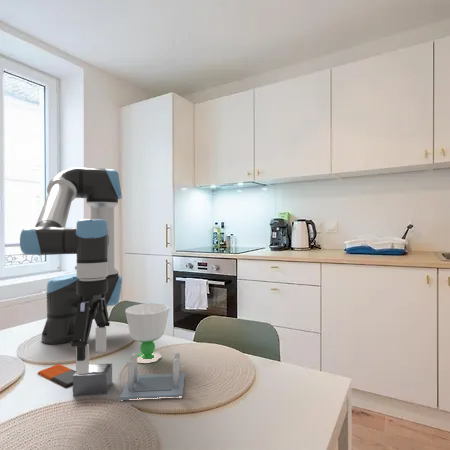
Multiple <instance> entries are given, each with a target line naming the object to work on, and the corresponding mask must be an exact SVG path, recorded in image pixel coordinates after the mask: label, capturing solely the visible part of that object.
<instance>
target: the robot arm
mask: <svg viewBox="0 0 450 450" xmlns="http://www.w3.org/2000/svg"><path fill="white" fill-rule="evenodd" d="M120 181H121V180H120V174H119V171H118V170H116V169H111V168H96V167H95V168H92V167H70V168H68V169H65V170H61V172H59V173H57V174H56V175H54V176H53V177H52V178H51V180H50V181H49V183H48V185H47V188H46V192H47V195H46V199H45V201H44V203H43V206H42V209H41V211H40V214H39V215H38V218H37V221H36V224H35V226H34V227H33V226H31V227H25V228H23V229H22V230H21V231H20V234H19V247H20V251H21V252H22V254H24V255H25V256H26V255H27V256H49V255H50V256H51V255H76V265H75V267H74V270H76V273H73V274H67V275H66V274H65V275H62V276H61V275H60V276H56V277H54V278H51V279H49V280H48V281H47V283H46V291H45V294H46V319H45V320H46V321H45V323H44V325H43V326H44V327H43V329H42V332H41V342H42V343H43V342H44V344H46V343H49V345H58V344H57V343H62V344H66V343H65V342H68V343H71V345H70V346H71V347H72V348H73V347H75V371H76V374H85V373H89V365H90V344H88V341H89V338H90V333H91V329H92V325H93V320H94V321H95V324H96V327H95V352H106V351H107V327H110V324H111V323H110V319H109V314H108V313H109V312H108V307H110V306H111V307H112V306H116V305H118V304H119V303H120V298H121V292H122V284H123V276H122V275H120V274H119V270H118V269H117V268H116V267H115V207H117V205H118V204H119V200H122V198H123V196H122V186H121V182H120ZM75 199H86V201H85V202H86V204H87V205H88V206H89V207H90V218H83V219H81V218H80V219H78V220H77V222H76V227H66V225H67V220H68V217H69V213H70V211H71V205H72V202H73V201H74V200H75ZM71 341H72V342H71Z"/></svg>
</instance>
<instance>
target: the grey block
mask: <svg viewBox="0 0 450 450" xmlns="http://www.w3.org/2000/svg"><path fill="white" fill-rule="evenodd" d="M112 384H113V363H99V364H89V373H85V374H76V373H75V374H74V375H73V386H72V396H73V397H81V396H83V397H84V396H98V395H99V396H100V395H101V396H102V395H107V394H108V391H109V390H110V387H111V386H112Z"/></svg>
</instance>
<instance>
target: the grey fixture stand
mask: <svg viewBox="0 0 450 450" xmlns="http://www.w3.org/2000/svg"><path fill="white" fill-rule="evenodd" d="M137 355H138V354H137V353H133V354H131V360H128V361H127V374H128V375H127V381H126V383H125V385H124V387H123V389H122V392H121V394H120V396H119V402H122V401H121V400H129V399H137V398H138V399H139V398H157V397H158V398H159V397H179V396H183V397H184V390H183V388H184V389H185V381H184V379H185V377H186V373H185V372H182V373H180V368H181V367H180V366H181V364H180V362H181V359H180V355H181V354H180V352H179V351H178V352H174V356H173V357H174V358H173V359H172V373H158V374H157V373H155V374H153V373H151V374H138V363H137Z"/></svg>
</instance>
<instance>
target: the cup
mask: <svg viewBox="0 0 450 450" xmlns="http://www.w3.org/2000/svg"><path fill="white" fill-rule="evenodd" d="M124 312H125V316H126V321H127V325H128V326H127V327H128V330H129V335H130V337H131V338H132V339H133V340H134V341H136V342H139V343H141V344H140V347H139V348H140V353H138V354H137V357H139V356H141V355H143V354H144V355H143V356H142V358H143V359H152V358H154V355H152V353H153V352H155V349H156V346H155V341H157V340H159V339H160V338H162V337H163V336H164V335H165V332H166V331H165V330H166V327H167V322H168V316H169V312H170V307H169V305H168V304H167V305H166V304H163V303H157V302H156V303H154V302H153V303H150V302H149V303H139V304H135V305H132V306H129V307H127V308H125V311H124Z"/></svg>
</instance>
